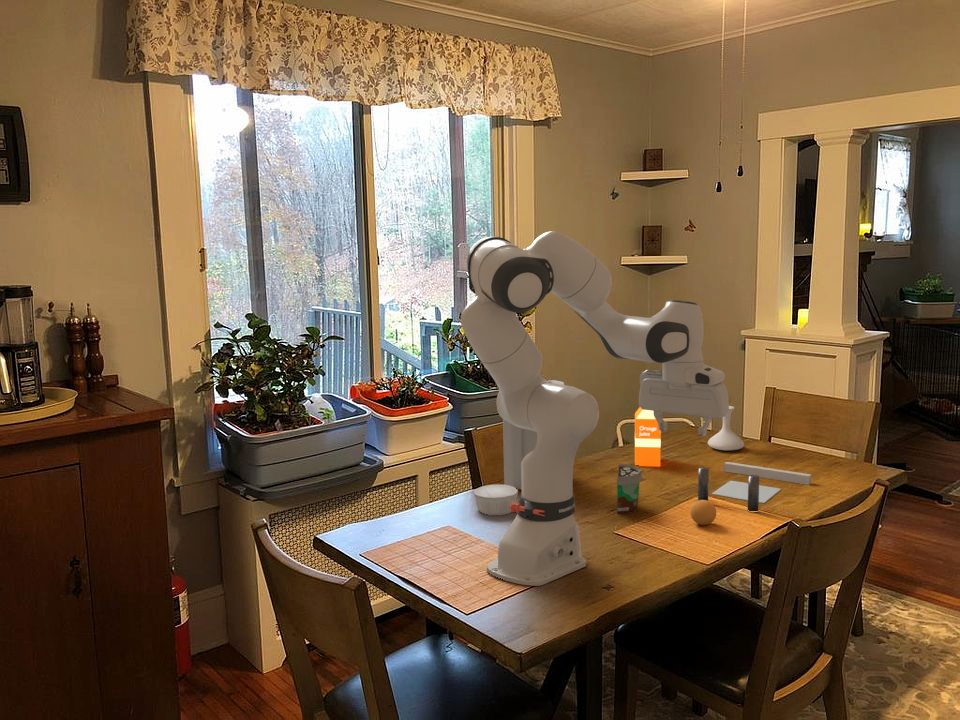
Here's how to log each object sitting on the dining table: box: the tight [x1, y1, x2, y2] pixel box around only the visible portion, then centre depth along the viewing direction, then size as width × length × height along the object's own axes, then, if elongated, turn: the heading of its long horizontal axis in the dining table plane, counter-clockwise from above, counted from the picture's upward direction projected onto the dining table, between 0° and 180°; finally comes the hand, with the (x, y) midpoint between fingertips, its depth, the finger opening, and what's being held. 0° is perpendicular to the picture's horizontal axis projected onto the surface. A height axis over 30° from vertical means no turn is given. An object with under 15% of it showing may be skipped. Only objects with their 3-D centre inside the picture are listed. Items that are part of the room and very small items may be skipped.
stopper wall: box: [723, 461, 812, 486], centre depth 231 cm, size 2×24×2 cm, turn 52°
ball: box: [690, 500, 717, 526], centre depth 195 cm, size 6×6×6 cm
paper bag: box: [502, 379, 565, 490], centre depth 227 cm, size 19×15×28 cm
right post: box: [747, 475, 760, 512], centre depth 203 cm, size 3×3×9 cm
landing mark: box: [711, 480, 782, 504], centre depth 219 cm, size 14×14×1 cm
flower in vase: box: [707, 394, 745, 451], centre depth 260 cm, size 13×11×25 cm
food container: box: [616, 463, 643, 515], centre depth 207 cm, size 12×6×10 cm, turn 168°
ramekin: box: [473, 484, 519, 516], centre depth 209 cm, size 11×11×5 cm
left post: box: [697, 466, 710, 501], centre depth 211 cm, size 3×3×9 cm
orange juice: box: [634, 406, 662, 467], centre depth 248 cm, size 8×9×20 cm
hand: (682, 432), depth 183 cm, fingers open, 8 cm apart
